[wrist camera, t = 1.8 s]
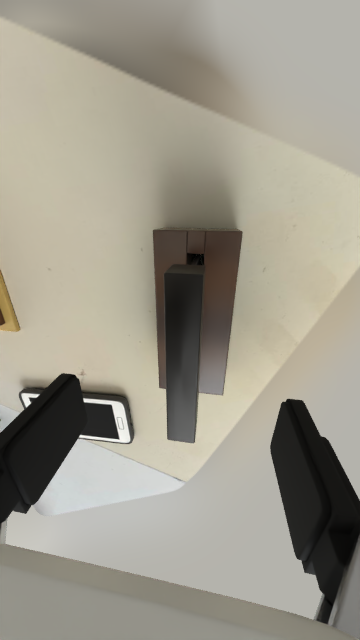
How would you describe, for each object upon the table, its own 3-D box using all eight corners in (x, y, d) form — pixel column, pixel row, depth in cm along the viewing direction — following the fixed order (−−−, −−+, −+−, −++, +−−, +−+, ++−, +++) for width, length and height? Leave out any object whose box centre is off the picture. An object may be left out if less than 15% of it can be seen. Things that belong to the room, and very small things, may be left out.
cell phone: (135, 438, 30) (133, 445, 29) (39, 427, 32) (34, 433, 31) (127, 395, 26) (124, 401, 26) (21, 386, 29) (15, 391, 28)
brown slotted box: (163, 227, 18) (152, 229, 15) (238, 229, 17) (242, 231, 14) (166, 366, 24) (159, 388, 21) (222, 371, 23) (222, 395, 20)
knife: (188, 247, 18) (163, 272, 10) (210, 248, 18) (203, 274, 9) (185, 356, 23) (167, 440, 14) (203, 358, 23) (194, 444, 14)
